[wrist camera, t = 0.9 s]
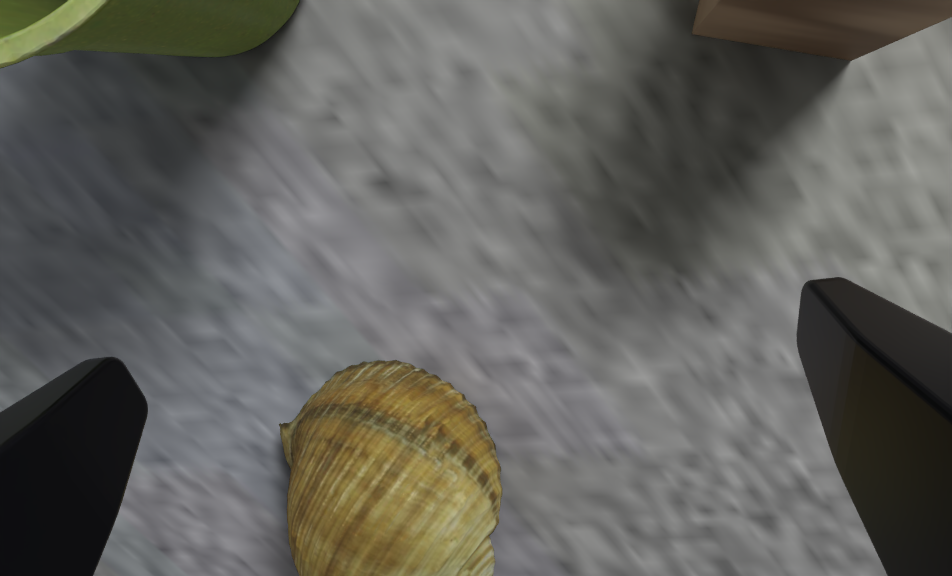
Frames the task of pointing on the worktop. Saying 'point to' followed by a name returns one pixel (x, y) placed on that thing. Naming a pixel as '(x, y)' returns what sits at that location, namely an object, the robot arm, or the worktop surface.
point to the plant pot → (138, 26)
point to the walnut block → (818, 23)
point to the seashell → (390, 477)
